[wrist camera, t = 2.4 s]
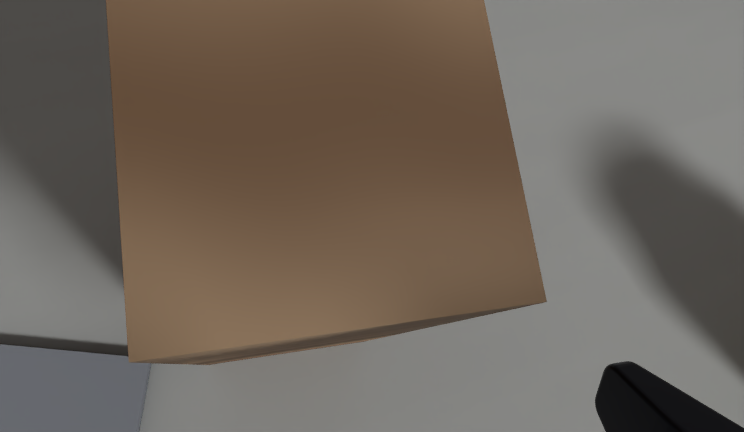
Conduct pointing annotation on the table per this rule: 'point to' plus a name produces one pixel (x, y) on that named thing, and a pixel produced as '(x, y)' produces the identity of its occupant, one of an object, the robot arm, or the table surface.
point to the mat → (70, 391)
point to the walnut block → (311, 174)
